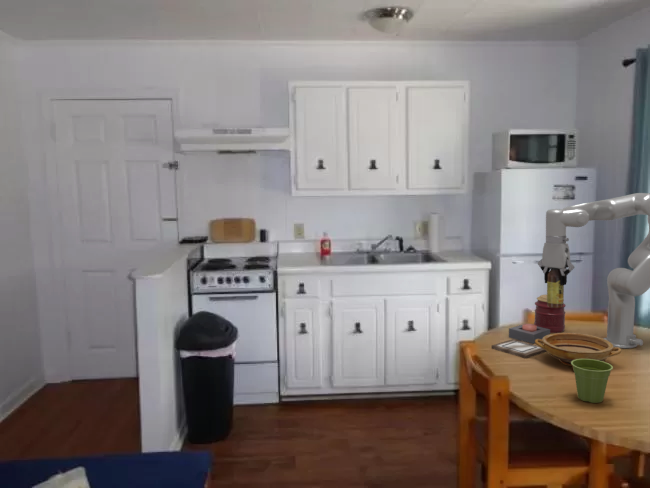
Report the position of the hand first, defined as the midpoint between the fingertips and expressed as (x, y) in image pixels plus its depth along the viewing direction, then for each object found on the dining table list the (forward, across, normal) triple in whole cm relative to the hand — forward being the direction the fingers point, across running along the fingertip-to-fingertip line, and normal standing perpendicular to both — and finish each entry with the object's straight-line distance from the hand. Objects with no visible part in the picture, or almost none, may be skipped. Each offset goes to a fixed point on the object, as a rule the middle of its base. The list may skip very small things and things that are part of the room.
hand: (555, 283), depth 223 cm
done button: (+23, +13, -1) cm, 27 cm away
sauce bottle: (+10, 0, 0) cm, 10 cm away
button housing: (+26, +13, -1) cm, 29 cm away
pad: (+26, +6, +16) cm, 31 cm away
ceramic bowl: (+26, -16, +12) cm, 33 cm away
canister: (+27, +15, -19) cm, 36 cm away
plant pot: (+26, -37, +40) cm, 61 cm away
